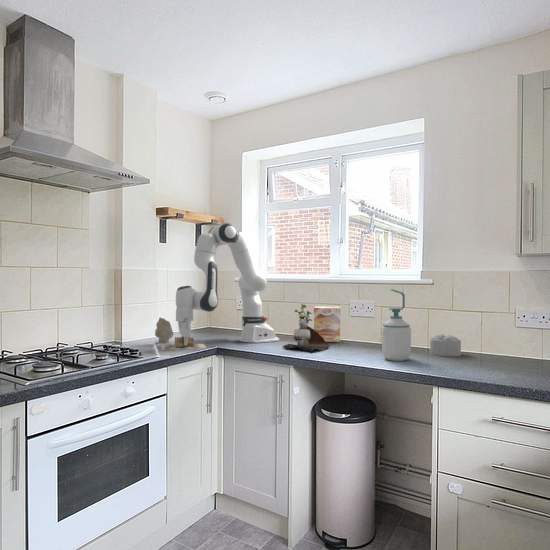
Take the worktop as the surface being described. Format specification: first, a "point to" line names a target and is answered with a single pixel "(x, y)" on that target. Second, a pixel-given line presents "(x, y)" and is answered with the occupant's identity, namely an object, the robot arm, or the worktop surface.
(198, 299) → the robot arm
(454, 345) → the lumpy-topped squat cylinder
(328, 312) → the coffeecake box
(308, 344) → the potted plant
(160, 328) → the stone tool
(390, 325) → the soap bottle
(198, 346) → the board
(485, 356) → the worktop surface
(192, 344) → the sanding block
